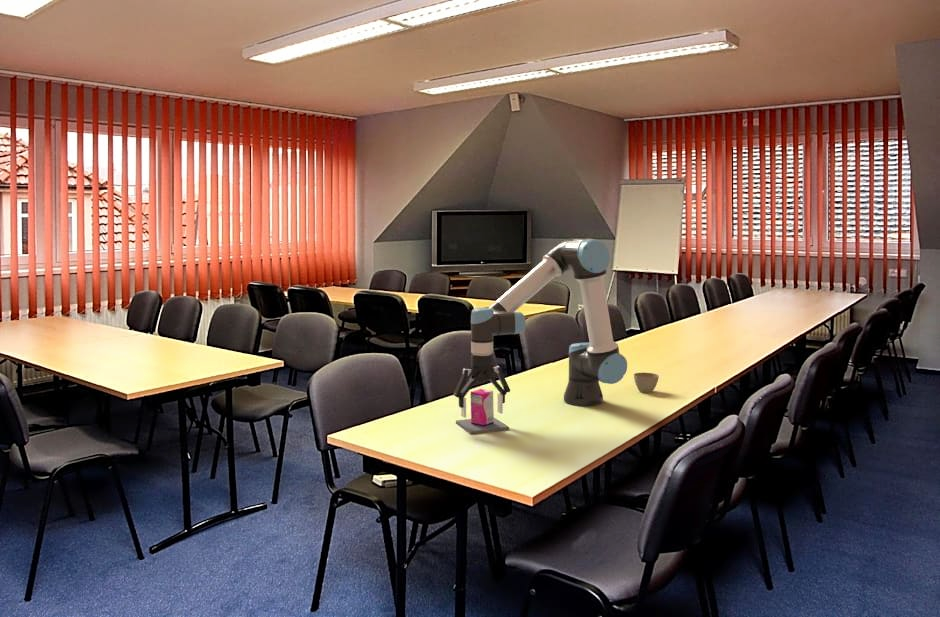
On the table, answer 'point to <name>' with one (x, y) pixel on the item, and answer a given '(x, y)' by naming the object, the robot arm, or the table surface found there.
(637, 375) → the flower pot
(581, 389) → the robot arm
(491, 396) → the supplement box
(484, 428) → the gray mat
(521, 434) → the table surface
